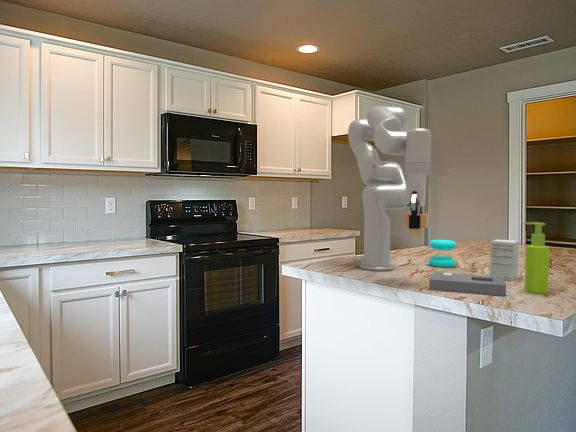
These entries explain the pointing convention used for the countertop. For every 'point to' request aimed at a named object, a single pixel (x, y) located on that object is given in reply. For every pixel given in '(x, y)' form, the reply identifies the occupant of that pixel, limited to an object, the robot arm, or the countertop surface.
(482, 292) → the socket
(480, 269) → the countertop surface
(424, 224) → the plug
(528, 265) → the soap dispenser
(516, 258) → the supplement box
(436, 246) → the donuts
